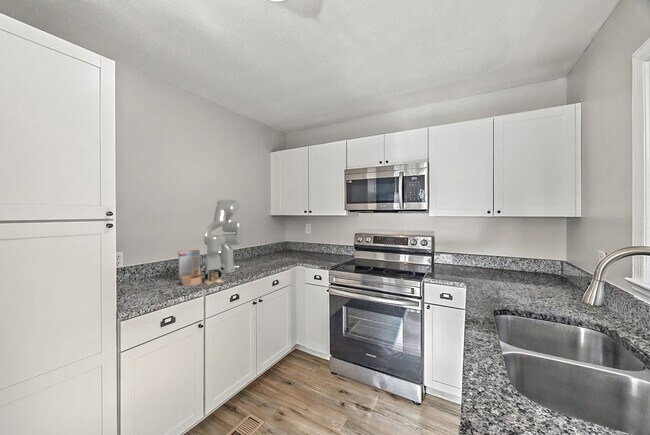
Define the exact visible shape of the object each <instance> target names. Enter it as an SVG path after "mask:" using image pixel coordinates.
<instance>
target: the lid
mask: <svg viewBox="0 0 650 435" xmlns="http://www.w3.org/2000/svg"><path fill="white" fill-rule="evenodd" d="M203 281H204V282H203V284H205V285H212V284H214V285H215V284H218V283H219V282H220V283H223V282H222V281H223V278H221V277H218V272H217V271H211V272H209V271H208V280H207V279H206V278H205V280H203Z"/></svg>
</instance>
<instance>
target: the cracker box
mask: <svg viewBox="0 0 650 435" xmlns="http://www.w3.org/2000/svg"><path fill="white" fill-rule="evenodd" d="M177 255H178V257H177V258H178V280H180V281H182V277H184V276H188V275H201V269H200V268H201V250H199V249H191V250H183V251H181V250H180V251H177Z"/></svg>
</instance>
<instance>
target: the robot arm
mask: <svg viewBox="0 0 650 435" xmlns="http://www.w3.org/2000/svg"><path fill="white" fill-rule="evenodd" d="M239 208H240V202H239V201H238V200H237V199H220V200H218V201H217V202H216V207H215V210H214V216H213V217H214V218H213V221H212V223H210V224H209V225H208V226H207V227H206V229H205V232H204V236H203V242H204V245H206V251H207V252H206V255H205V260H204V265H203V266H202V267H201V266H200V271H201V272H202V273H203V274H204V278H205V280H206V279H207V280H208V279H209V271H215V270H218V272H217V278H221V277H222V274H227V273H235V272H236V269H239V268H240V266H239V265H234V249H233V248H232V246H240V245H241V244H242V242H243V225H242V222H241V221H240V220H234V217H233V215H235V214H236V213H237V211H238V210H239ZM220 227H221V230H222V231H223V232H224V233H223V234H219V235H217V234H211V233H212V232H213V231H215V230H216V229H218V228H220ZM219 246H220V248H219ZM219 249H220V250H219Z"/></svg>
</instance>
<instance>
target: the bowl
mask: <svg viewBox="0 0 650 435" xmlns="http://www.w3.org/2000/svg"><path fill="white" fill-rule="evenodd" d="M181 284H182V286H185V287H186V286H189V287H190V286H197V285H200V284H203V275H201V274H200V275H188V276H184V277H182V280H181Z"/></svg>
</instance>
